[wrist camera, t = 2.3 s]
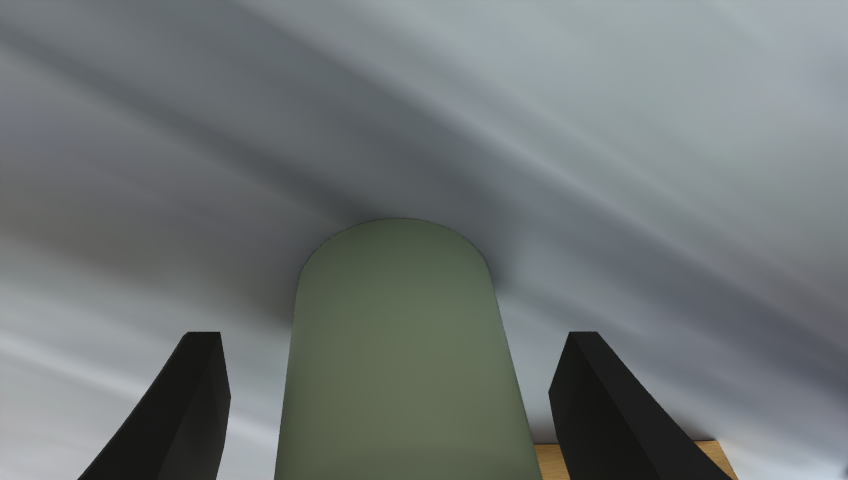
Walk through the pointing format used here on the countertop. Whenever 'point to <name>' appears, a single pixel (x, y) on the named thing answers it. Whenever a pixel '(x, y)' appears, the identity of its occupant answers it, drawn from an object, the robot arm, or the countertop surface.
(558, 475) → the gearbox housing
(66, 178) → the countertop surface
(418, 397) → the spout can
